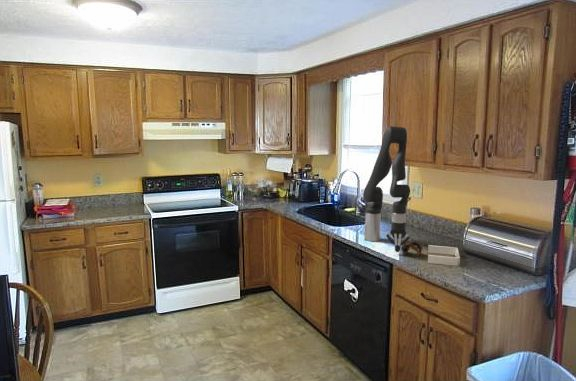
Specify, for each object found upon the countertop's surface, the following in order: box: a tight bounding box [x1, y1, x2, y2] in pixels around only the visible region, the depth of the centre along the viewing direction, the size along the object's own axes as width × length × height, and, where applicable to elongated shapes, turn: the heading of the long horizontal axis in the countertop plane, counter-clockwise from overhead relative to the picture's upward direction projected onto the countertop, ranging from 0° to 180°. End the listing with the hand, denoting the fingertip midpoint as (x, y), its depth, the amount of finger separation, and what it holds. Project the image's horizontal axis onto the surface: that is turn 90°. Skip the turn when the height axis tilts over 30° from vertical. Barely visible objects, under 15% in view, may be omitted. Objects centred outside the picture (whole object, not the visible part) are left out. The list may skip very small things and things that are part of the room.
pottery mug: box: [400, 240, 423, 257], centre depth 219 cm, size 12×10×8 cm
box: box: [427, 244, 461, 267], centre depth 212 cm, size 15×20×4 cm
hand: (397, 251), depth 220 cm, fingers closed
